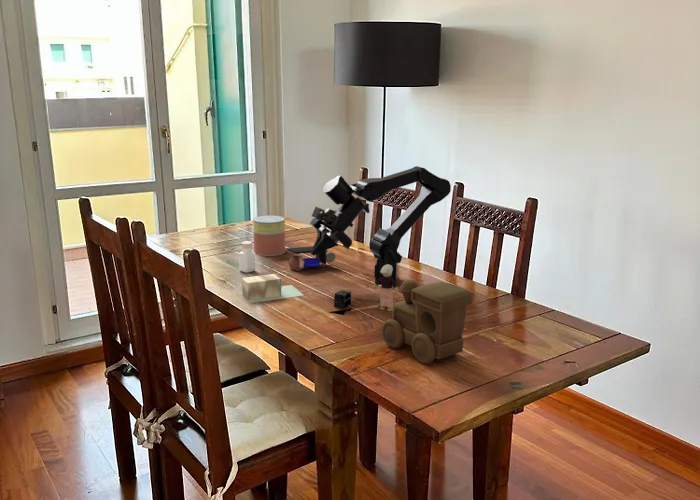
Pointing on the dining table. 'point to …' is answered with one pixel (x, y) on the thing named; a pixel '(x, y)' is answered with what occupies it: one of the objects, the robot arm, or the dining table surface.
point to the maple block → (261, 286)
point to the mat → (285, 293)
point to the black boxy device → (342, 302)
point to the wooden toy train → (428, 320)
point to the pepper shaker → (247, 258)
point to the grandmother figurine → (386, 288)
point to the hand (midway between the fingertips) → (312, 254)
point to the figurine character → (299, 263)
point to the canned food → (269, 235)
